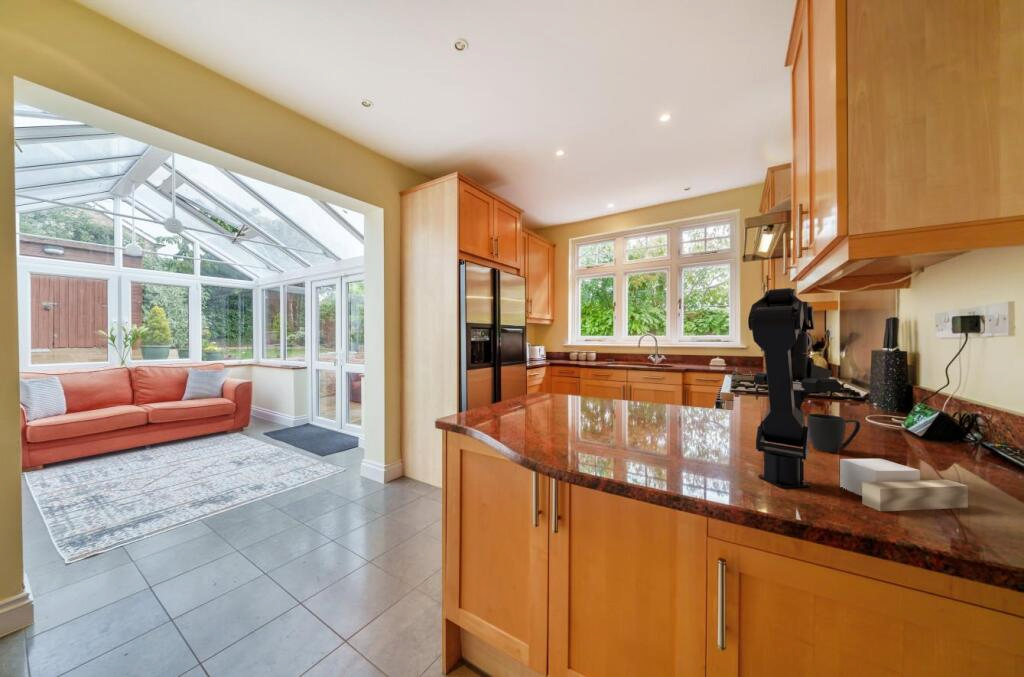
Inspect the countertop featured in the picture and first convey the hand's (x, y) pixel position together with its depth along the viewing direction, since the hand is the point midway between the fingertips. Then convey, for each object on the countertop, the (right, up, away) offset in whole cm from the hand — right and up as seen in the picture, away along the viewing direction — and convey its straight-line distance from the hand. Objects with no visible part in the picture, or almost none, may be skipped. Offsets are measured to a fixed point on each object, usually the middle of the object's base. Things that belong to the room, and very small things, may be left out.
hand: (793, 416), depth 89 cm
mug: (+21, -13, +12) cm, 27 cm away
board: (+5, -12, -22) cm, 26 cm away
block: (+4, -12, -17) cm, 21 cm away
